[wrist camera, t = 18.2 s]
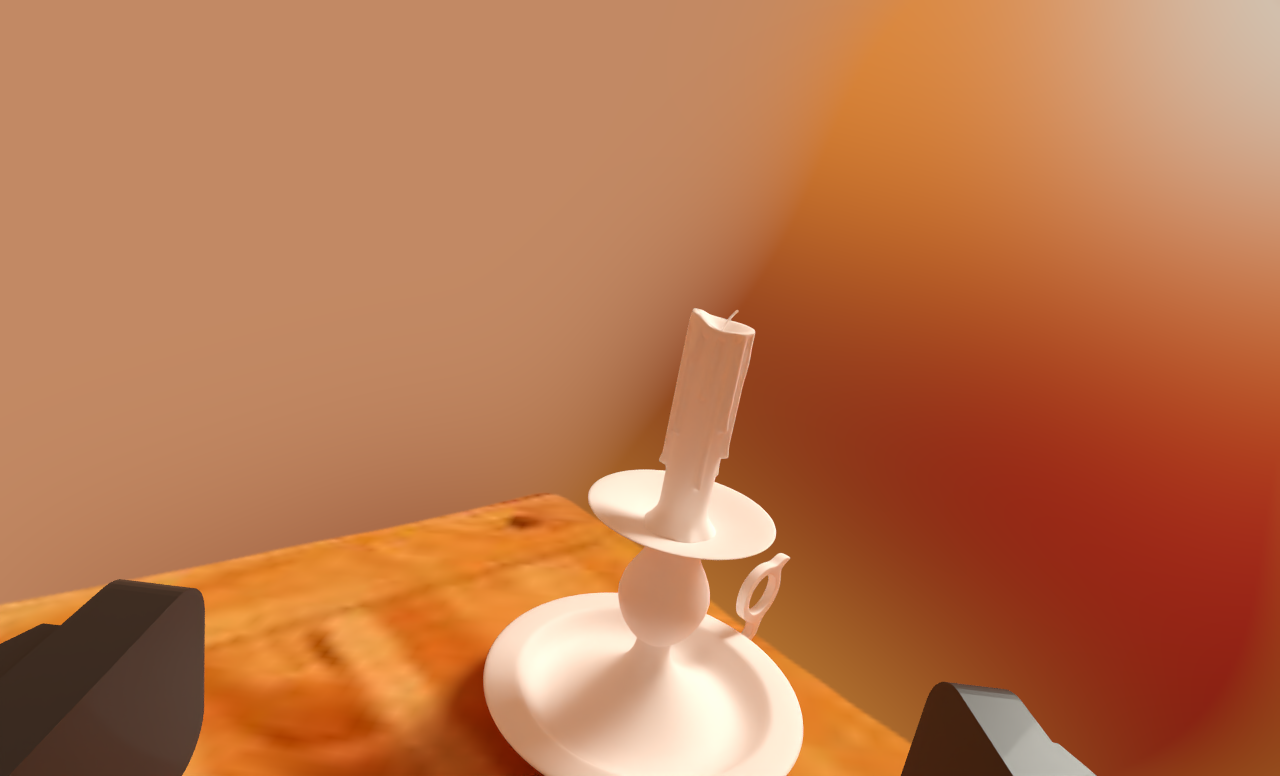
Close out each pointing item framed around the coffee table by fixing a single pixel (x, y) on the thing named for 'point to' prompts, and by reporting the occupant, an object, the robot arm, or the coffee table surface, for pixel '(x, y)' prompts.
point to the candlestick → (659, 615)
